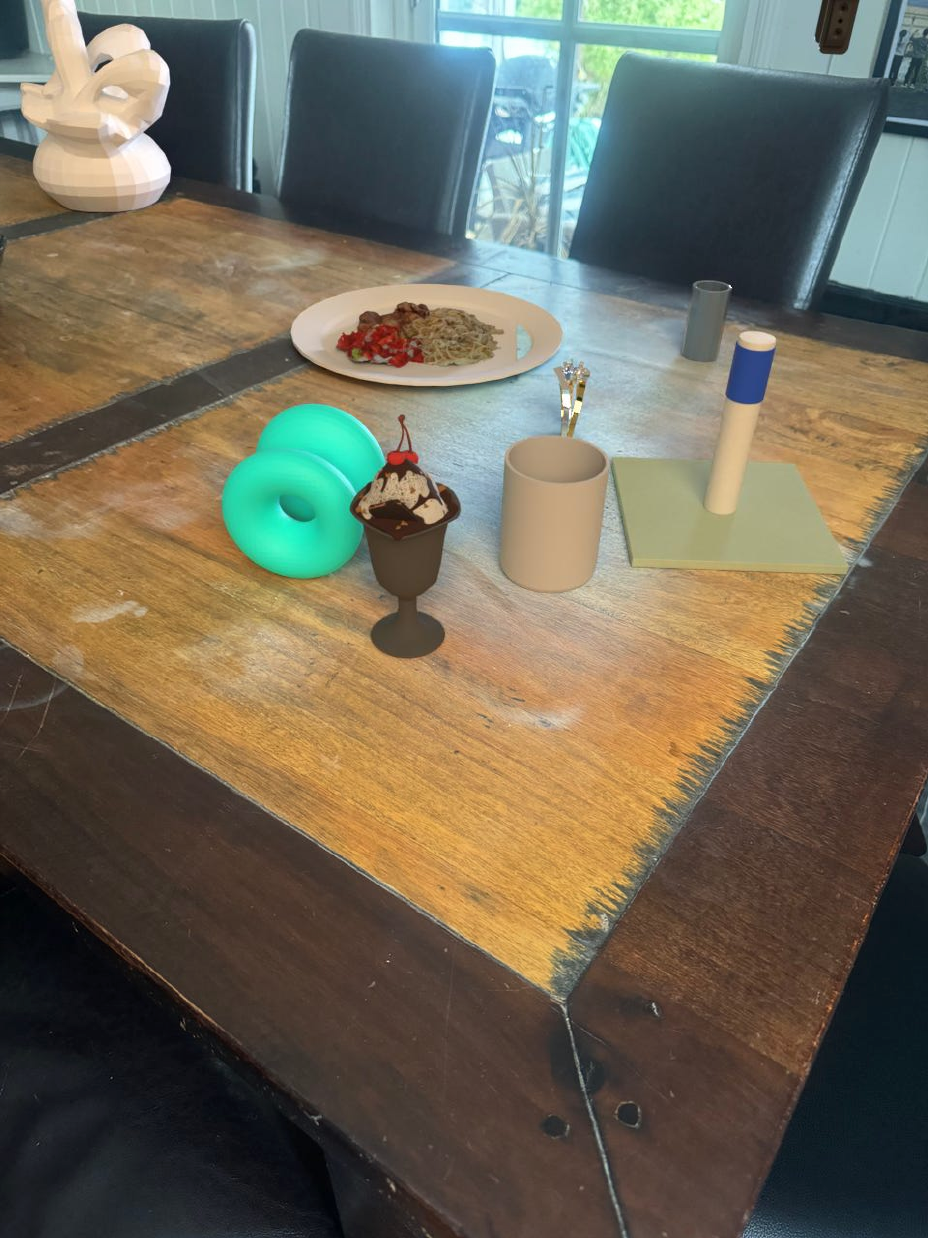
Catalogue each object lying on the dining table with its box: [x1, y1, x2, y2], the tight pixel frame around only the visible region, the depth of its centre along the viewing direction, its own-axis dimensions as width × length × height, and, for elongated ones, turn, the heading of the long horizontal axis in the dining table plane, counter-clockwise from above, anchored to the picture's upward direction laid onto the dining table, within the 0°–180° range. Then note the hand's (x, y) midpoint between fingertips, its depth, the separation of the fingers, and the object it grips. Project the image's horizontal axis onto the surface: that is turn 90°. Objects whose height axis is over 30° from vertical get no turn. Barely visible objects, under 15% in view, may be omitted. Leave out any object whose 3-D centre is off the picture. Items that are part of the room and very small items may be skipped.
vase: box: [19, 0, 172, 213], centre depth 138 cm, size 29×22×35 cm
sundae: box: [349, 413, 462, 659], centre depth 56 cm, size 7×7×15 cm
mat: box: [610, 456, 850, 575], centre depth 74 cm, size 16×16×1 cm
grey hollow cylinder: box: [680, 279, 733, 363], centre depth 98 cm, size 4×4×8 cm
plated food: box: [290, 283, 564, 387], centre depth 101 cm, size 30×30×3 cm
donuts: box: [221, 403, 386, 580], centre depth 66 cm, size 10×10×10 cm
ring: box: [552, 358, 591, 438], centre depth 81 cm, size 7×3×8 cm, turn 172°
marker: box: [703, 330, 777, 515], centre depth 69 cm, size 3×3×14 cm
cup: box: [498, 434, 611, 594], centre depth 66 cm, size 7×10×9 cm
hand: (828, 48), depth 75 cm, fingers open, 8 cm apart
